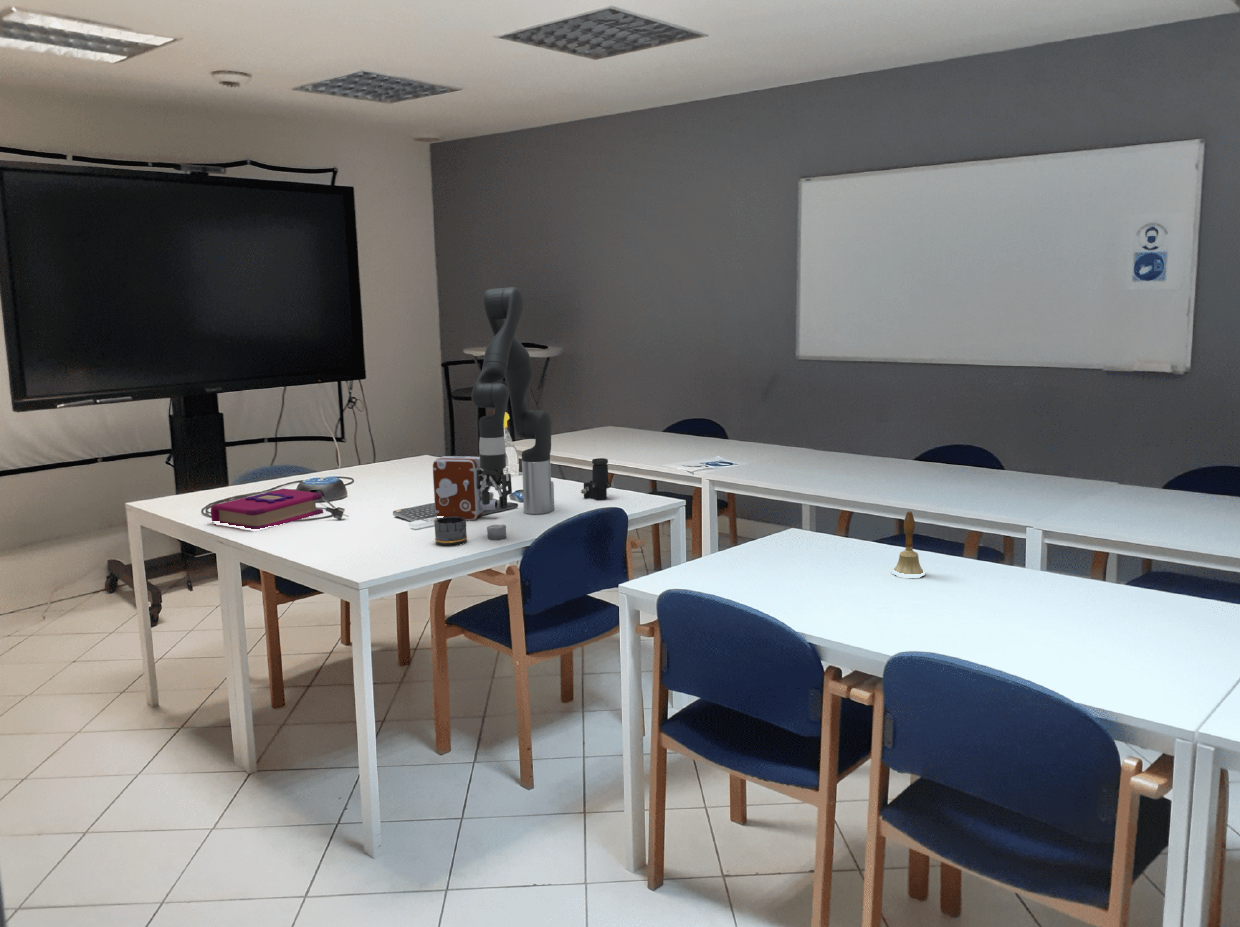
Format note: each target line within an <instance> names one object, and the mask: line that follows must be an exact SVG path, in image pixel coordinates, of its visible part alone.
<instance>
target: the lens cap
mask: <svg viewBox="0 0 1240 927" xmlns="http://www.w3.org/2000/svg"><path fill="white" fill-rule="evenodd" d="M486 533H487V535H486V536H487V540H490V541H502V539H503V540H506V539H507V526H506V524H503V523H501V524H492V525H488V526H487V527H486Z"/></svg>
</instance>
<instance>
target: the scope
mask: <svg viewBox="0 0 1240 927" xmlns="http://www.w3.org/2000/svg"><path fill="white" fill-rule="evenodd" d="M591 463H592V470H591V471H592V473H591V474H592V475H591V476H592V478H591V480H589V481H588V482H583V488H582V489H581V490H580V493H581V494H583V498H584V499H591V500H595V501H606V500H607V499H608V496H607V494H608V489H610V487H611V482H610V481H609V480H610V479H609V466H608V463H609V459H608V458H605V457H602V458H600V457H598V458H593V459H592V460H591Z"/></svg>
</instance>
